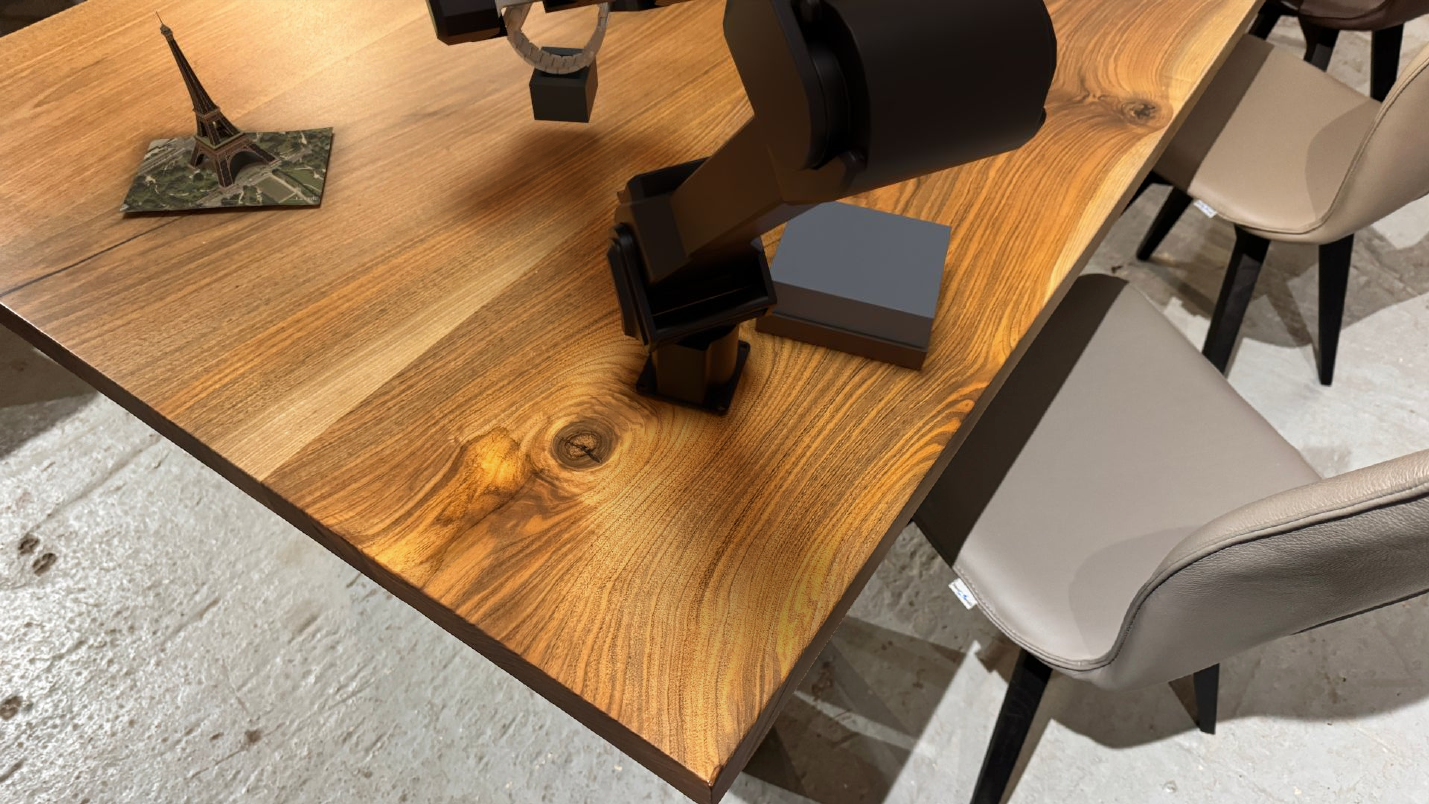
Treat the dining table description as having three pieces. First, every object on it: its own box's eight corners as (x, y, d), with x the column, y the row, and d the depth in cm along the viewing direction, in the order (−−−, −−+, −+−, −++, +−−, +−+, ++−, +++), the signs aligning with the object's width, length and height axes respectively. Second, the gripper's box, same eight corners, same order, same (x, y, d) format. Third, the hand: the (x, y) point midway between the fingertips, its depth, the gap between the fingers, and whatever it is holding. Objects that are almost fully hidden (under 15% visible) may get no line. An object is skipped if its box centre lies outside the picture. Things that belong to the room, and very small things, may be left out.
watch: (523, 80, 70) (500, -58, 61) (619, 85, 70) (610, -52, 61) (509, 119, 66) (483, -22, 58) (610, 125, 66) (599, -15, 58)
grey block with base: (920, 370, 58) (938, 322, 54) (754, 330, 60) (760, 280, 56) (939, 274, 64) (956, 224, 60) (787, 239, 66) (794, 188, 62)
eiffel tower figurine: (118, 220, 65) (7, 61, 54) (151, 140, 71) (57, -18, 60) (320, 208, 66) (252, 51, 56) (336, 130, 72) (277, -26, 62)
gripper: (693, -246, 50) (636, -115, 65) (373, -214, 45) (390, -80, 60) (741, -51, 52) (675, 33, 67) (439, 0, 47) (440, 79, 62)
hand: (550, 13), depth 64 cm, fingers closed on watch, 8 cm apart
